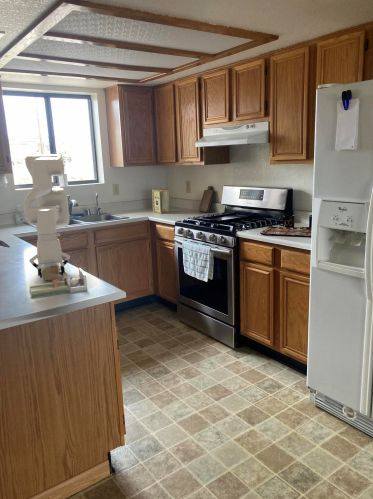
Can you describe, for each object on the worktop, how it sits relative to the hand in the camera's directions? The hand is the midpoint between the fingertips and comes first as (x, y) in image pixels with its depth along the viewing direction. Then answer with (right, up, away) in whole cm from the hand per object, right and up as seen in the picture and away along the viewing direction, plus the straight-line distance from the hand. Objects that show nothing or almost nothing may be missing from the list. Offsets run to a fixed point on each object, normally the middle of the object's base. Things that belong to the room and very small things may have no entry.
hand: (51, 275), depth 179 cm
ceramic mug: (-5, -3, +20) cm, 21 cm away
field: (-1, -7, 0) cm, 7 cm away
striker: (+1, -5, +1) cm, 5 cm away
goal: (+9, -6, +5) cm, 11 cm away
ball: (+9, -3, +4) cm, 10 cm away
